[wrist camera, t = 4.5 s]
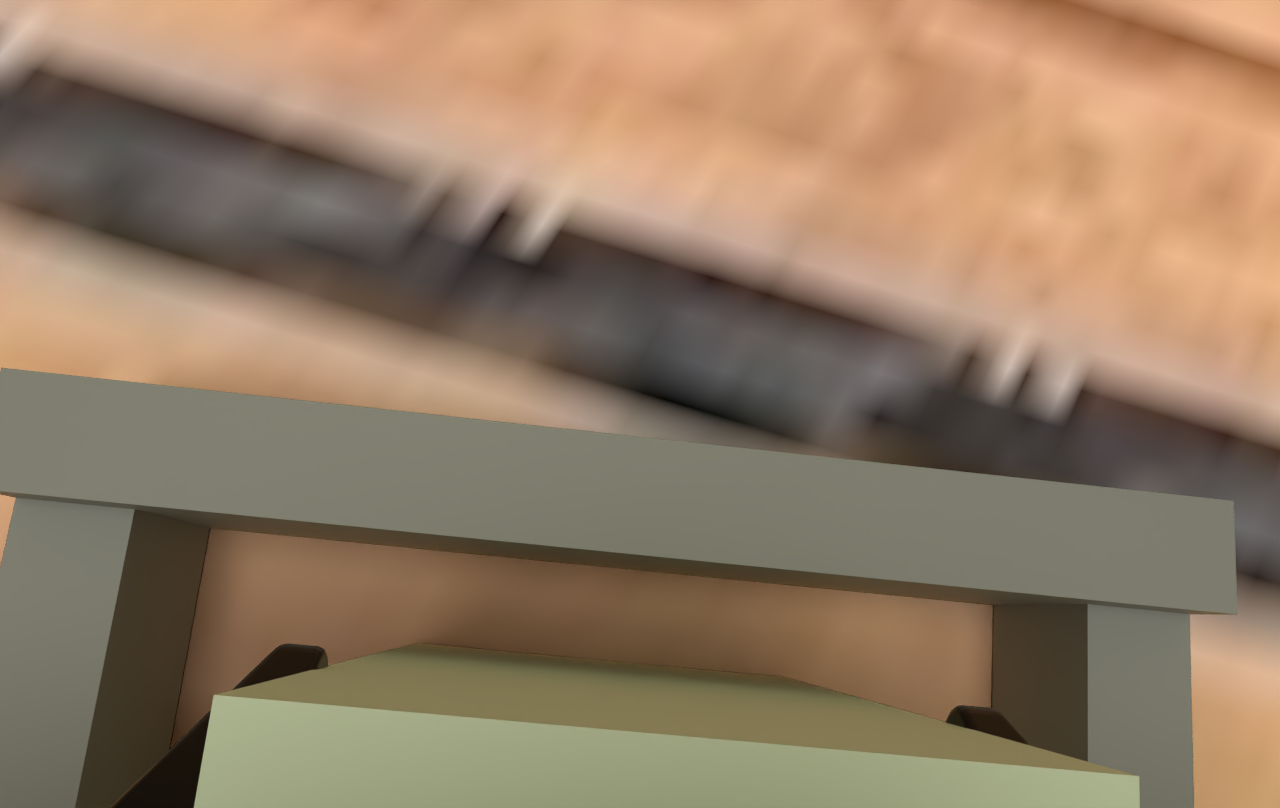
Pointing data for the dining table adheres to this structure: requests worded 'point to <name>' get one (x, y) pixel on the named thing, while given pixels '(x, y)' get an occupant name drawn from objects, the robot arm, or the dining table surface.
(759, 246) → the dining table surface
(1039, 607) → the frame
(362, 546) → the dining table surface
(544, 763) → the green block
